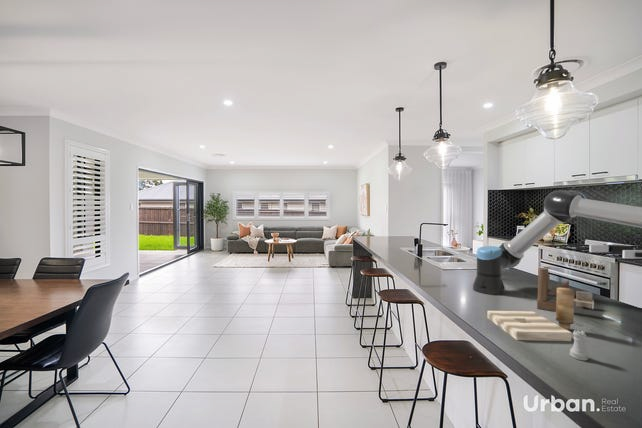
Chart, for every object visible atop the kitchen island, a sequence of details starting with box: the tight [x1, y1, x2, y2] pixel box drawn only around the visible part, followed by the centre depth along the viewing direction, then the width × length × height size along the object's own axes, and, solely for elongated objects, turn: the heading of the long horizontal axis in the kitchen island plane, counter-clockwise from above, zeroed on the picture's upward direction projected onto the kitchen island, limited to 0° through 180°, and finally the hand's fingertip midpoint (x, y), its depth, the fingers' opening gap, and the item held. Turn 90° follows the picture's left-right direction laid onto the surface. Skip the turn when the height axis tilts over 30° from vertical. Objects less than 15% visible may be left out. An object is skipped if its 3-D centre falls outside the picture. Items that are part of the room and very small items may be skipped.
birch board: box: [486, 310, 573, 342], centre depth 112 cm, size 20×18×3 cm
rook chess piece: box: [569, 329, 590, 362], centre depth 91 cm, size 4×4×8 cm
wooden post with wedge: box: [536, 267, 570, 312], centre depth 132 cm, size 4×11×18 cm, turn 55°
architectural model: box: [574, 290, 595, 310], centre depth 134 cm, size 3×7×7 cm, turn 60°
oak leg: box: [555, 288, 575, 331], centre depth 111 cm, size 5×5×15 cm
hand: (605, 251), depth 110 cm, fingers open, 13 cm apart
